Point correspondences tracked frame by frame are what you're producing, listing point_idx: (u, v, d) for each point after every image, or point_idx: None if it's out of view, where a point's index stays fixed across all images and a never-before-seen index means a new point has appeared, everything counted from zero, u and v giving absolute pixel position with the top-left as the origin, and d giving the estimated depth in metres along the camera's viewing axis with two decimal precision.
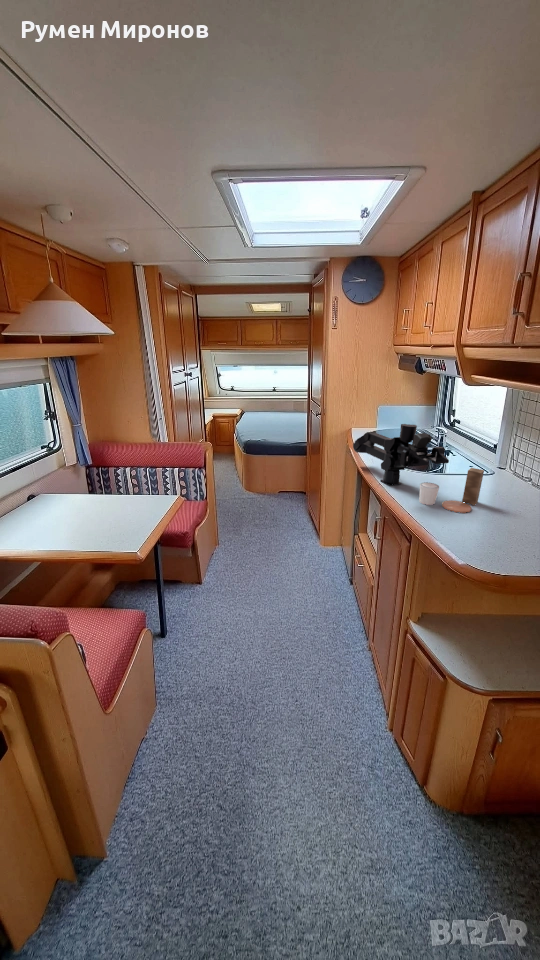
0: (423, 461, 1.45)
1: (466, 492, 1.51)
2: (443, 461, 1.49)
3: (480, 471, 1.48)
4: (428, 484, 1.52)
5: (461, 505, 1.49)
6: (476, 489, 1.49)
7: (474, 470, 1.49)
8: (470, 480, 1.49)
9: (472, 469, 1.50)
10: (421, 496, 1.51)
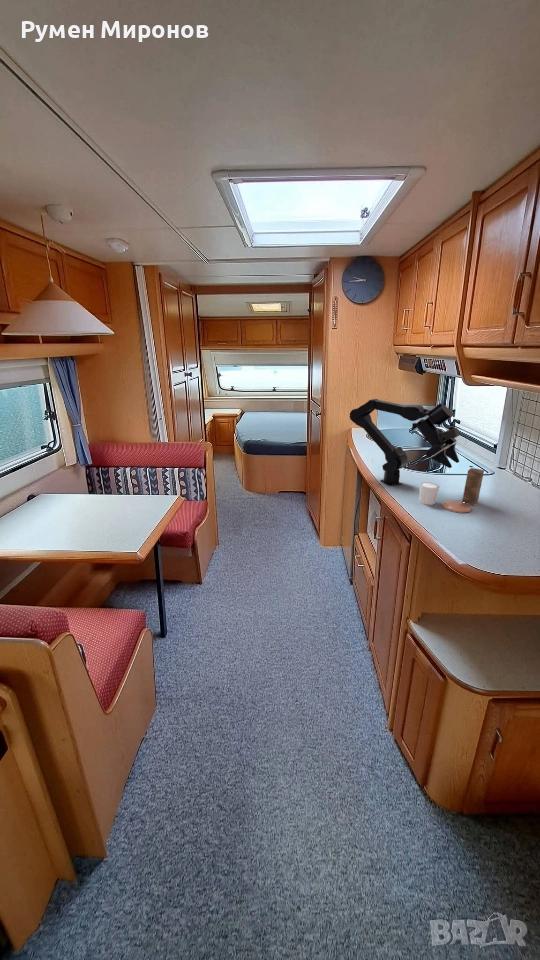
0: (448, 463, 1.50)
1: (466, 492, 1.51)
2: (453, 458, 1.58)
3: (480, 471, 1.48)
4: (428, 484, 1.52)
5: (461, 505, 1.49)
6: (476, 489, 1.49)
7: (474, 470, 1.49)
8: (471, 480, 1.49)
9: (472, 469, 1.50)
10: (421, 496, 1.51)
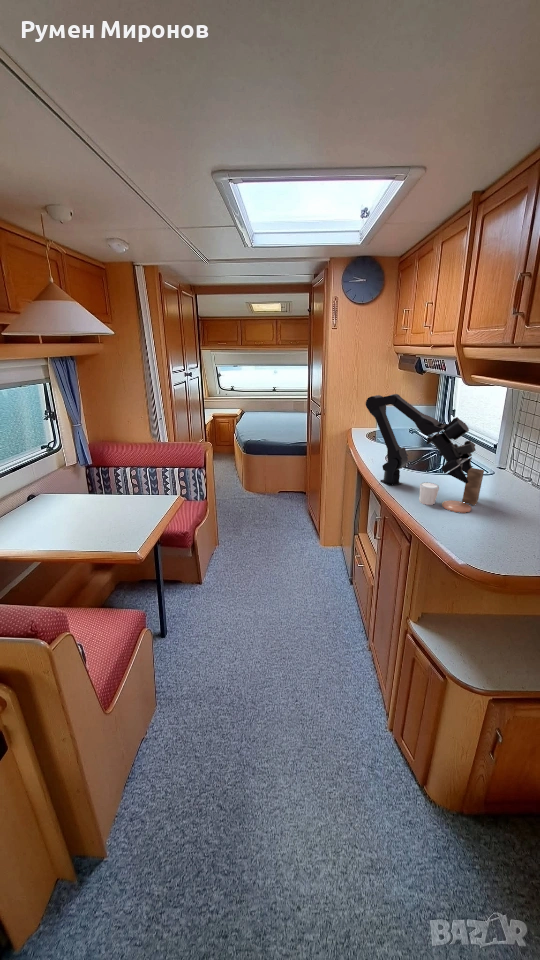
0: (464, 478, 1.48)
1: (466, 492, 1.51)
2: None
3: (480, 471, 1.48)
4: (428, 484, 1.52)
5: (461, 505, 1.49)
6: (476, 489, 1.49)
7: (474, 470, 1.49)
8: (471, 480, 1.49)
9: (472, 469, 1.50)
10: (421, 496, 1.51)
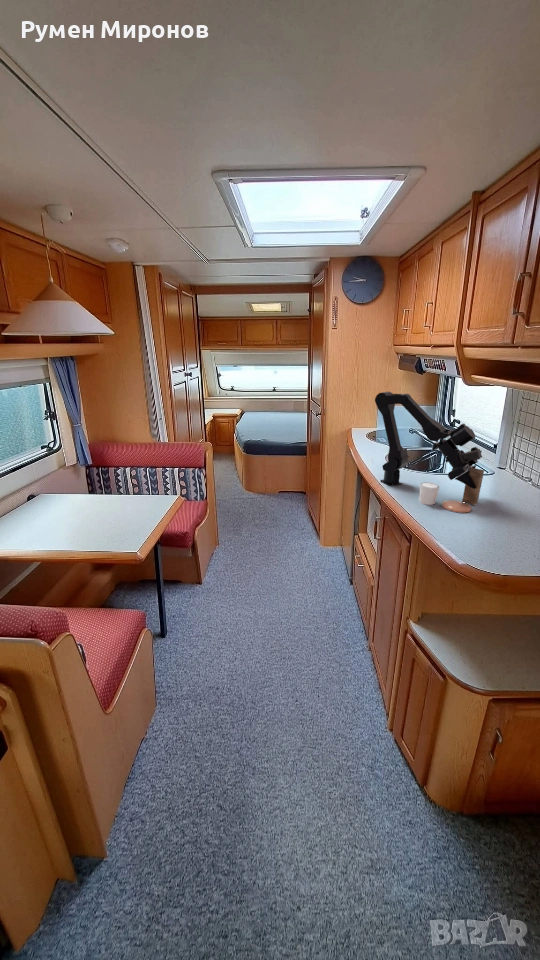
0: (472, 484, 1.48)
1: (466, 492, 1.51)
2: None
3: (480, 471, 1.48)
4: (428, 484, 1.52)
5: (461, 505, 1.49)
6: (476, 489, 1.49)
7: (474, 470, 1.49)
8: None
9: (472, 469, 1.50)
10: (421, 496, 1.51)
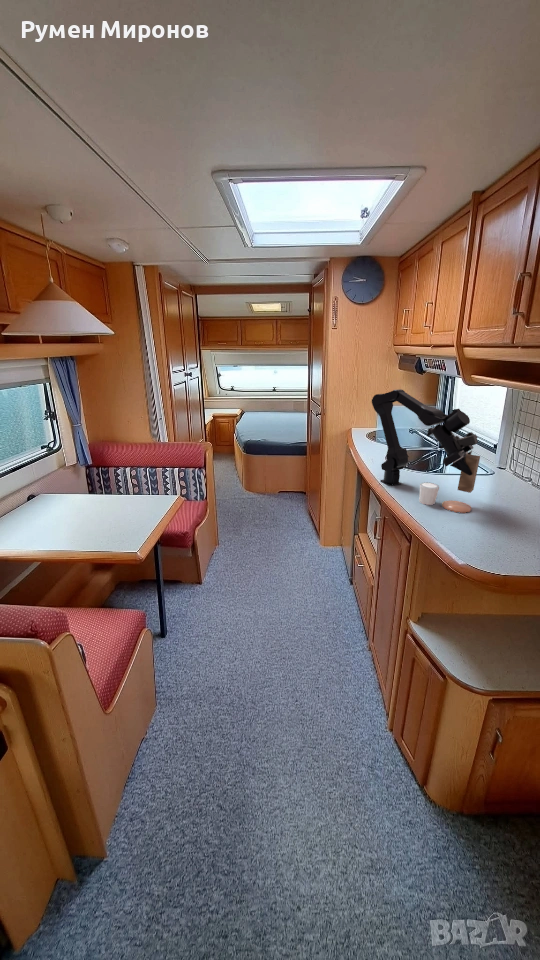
0: (468, 470, 1.44)
1: (462, 479, 1.46)
2: None
3: (476, 457, 1.43)
4: (428, 484, 1.52)
5: (461, 505, 1.49)
6: (472, 476, 1.44)
7: (470, 456, 1.44)
8: None
9: (468, 455, 1.45)
10: (421, 496, 1.51)
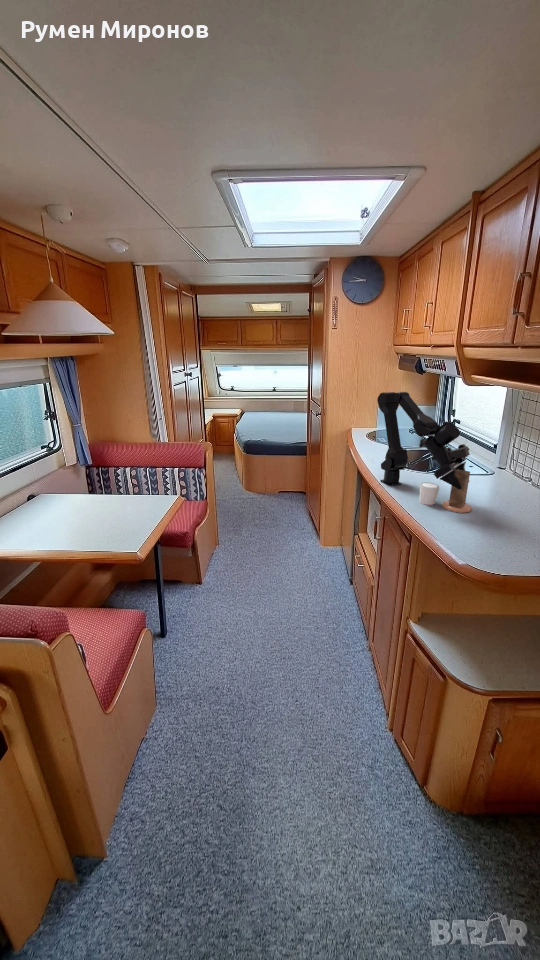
0: (458, 484, 1.41)
1: (453, 495, 1.46)
2: None
3: (466, 473, 1.43)
4: (428, 484, 1.52)
5: None
6: (462, 491, 1.43)
7: (460, 472, 1.44)
8: None
9: (458, 471, 1.45)
10: (421, 496, 1.51)
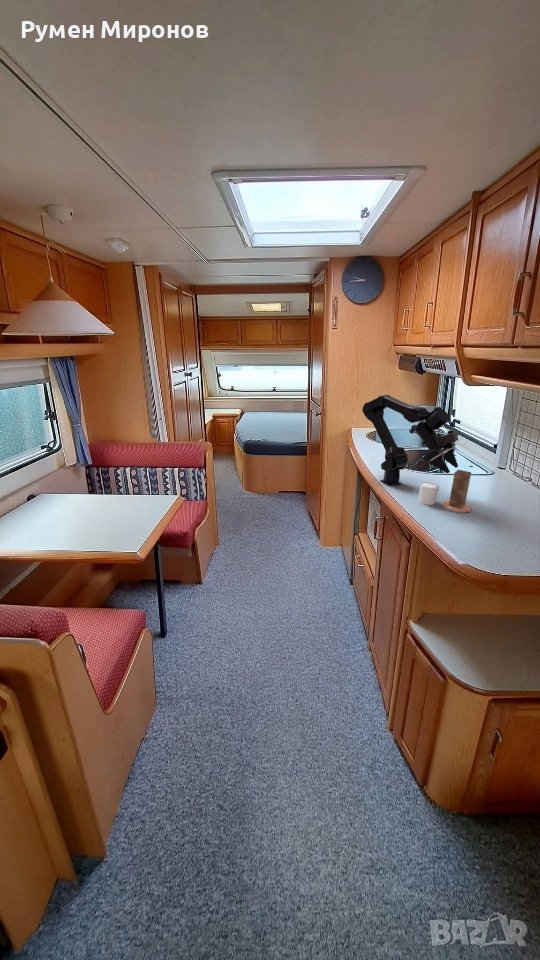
0: (446, 468, 1.46)
1: (453, 495, 1.46)
2: (452, 463, 1.54)
3: (467, 473, 1.43)
4: (428, 484, 1.52)
5: None
6: (463, 492, 1.43)
7: (461, 472, 1.44)
8: (457, 482, 1.44)
9: (459, 471, 1.45)
10: (421, 496, 1.51)
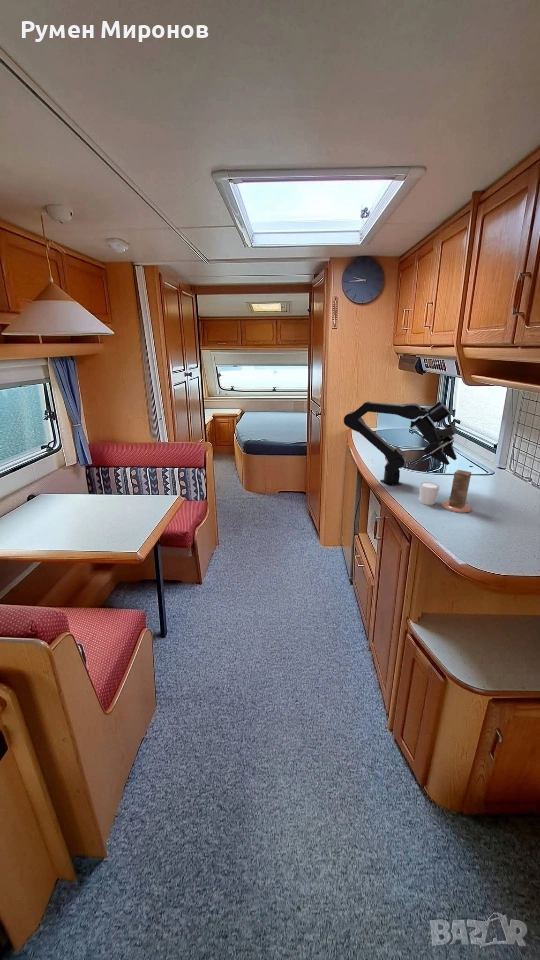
0: (445, 460, 1.53)
1: (453, 495, 1.46)
2: (450, 455, 1.61)
3: (467, 473, 1.43)
4: (428, 484, 1.52)
5: None
6: (463, 492, 1.43)
7: (461, 472, 1.44)
8: (457, 482, 1.44)
9: (459, 471, 1.45)
10: (421, 496, 1.51)
